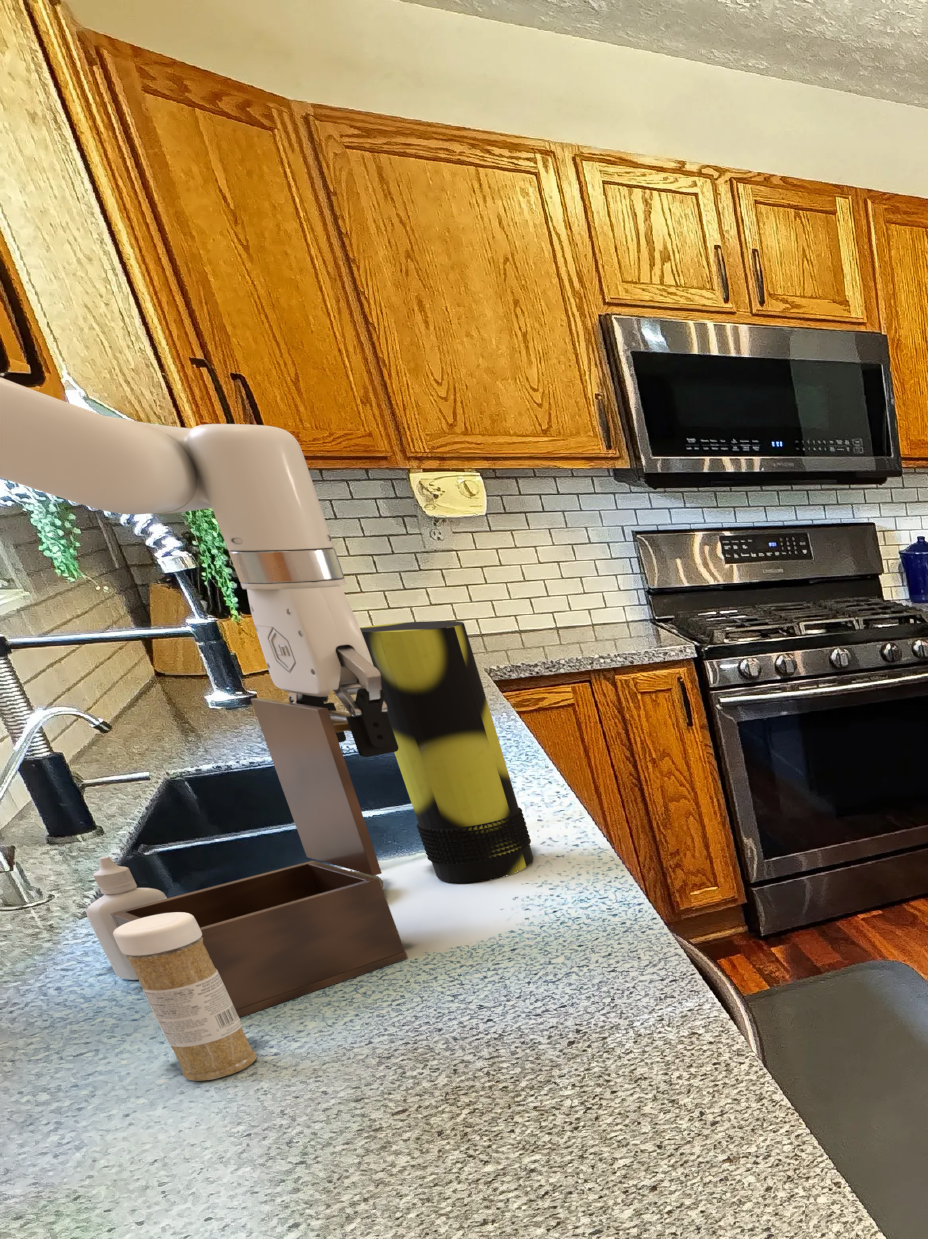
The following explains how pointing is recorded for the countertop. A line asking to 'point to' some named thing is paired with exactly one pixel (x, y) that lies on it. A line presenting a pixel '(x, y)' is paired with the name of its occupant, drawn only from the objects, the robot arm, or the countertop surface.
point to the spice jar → (186, 994)
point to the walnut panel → (317, 782)
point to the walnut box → (288, 931)
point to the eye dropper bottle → (116, 898)
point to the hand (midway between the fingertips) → (353, 748)
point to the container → (449, 751)
